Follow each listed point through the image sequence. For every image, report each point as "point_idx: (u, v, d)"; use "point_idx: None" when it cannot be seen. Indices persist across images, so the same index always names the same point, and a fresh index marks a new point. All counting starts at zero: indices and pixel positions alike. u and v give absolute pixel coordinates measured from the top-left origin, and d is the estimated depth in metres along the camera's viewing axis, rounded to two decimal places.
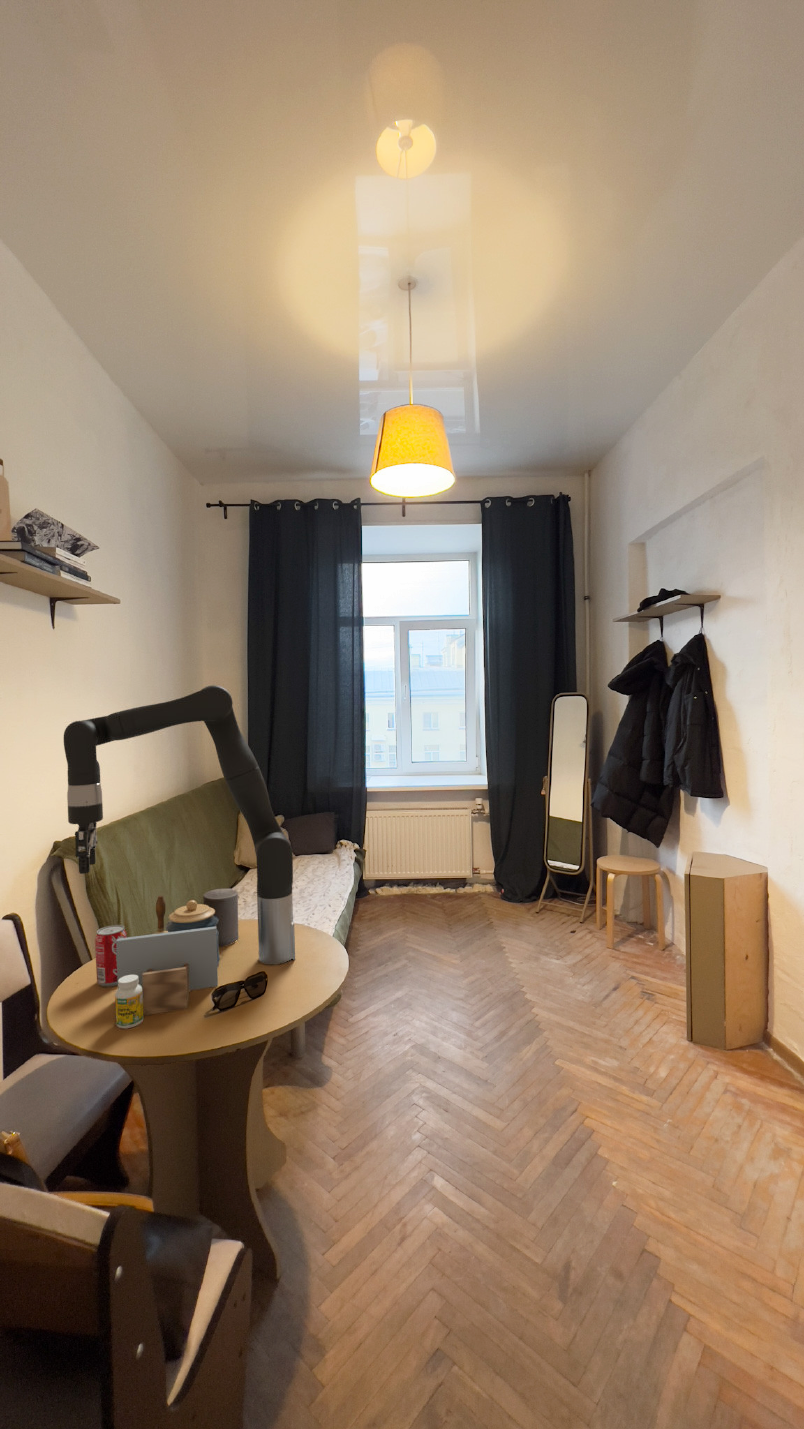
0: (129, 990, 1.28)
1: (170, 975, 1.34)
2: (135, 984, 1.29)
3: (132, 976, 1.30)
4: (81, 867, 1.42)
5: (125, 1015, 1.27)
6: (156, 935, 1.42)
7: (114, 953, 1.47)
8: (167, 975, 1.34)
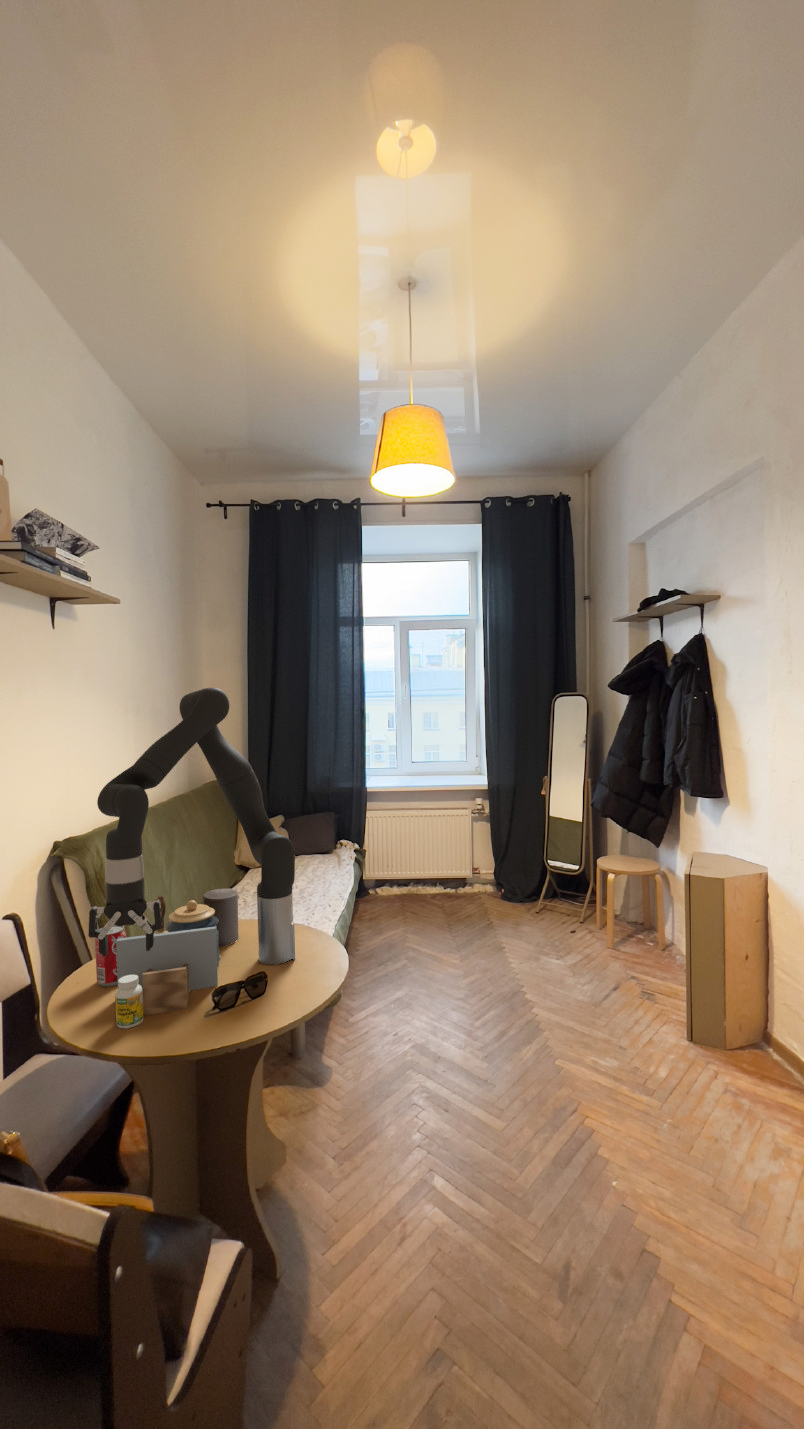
0: (129, 990, 1.28)
1: (170, 975, 1.34)
2: (135, 984, 1.29)
3: (132, 976, 1.30)
4: None
5: (125, 1015, 1.27)
6: (156, 935, 1.42)
7: (114, 953, 1.47)
8: (167, 975, 1.34)
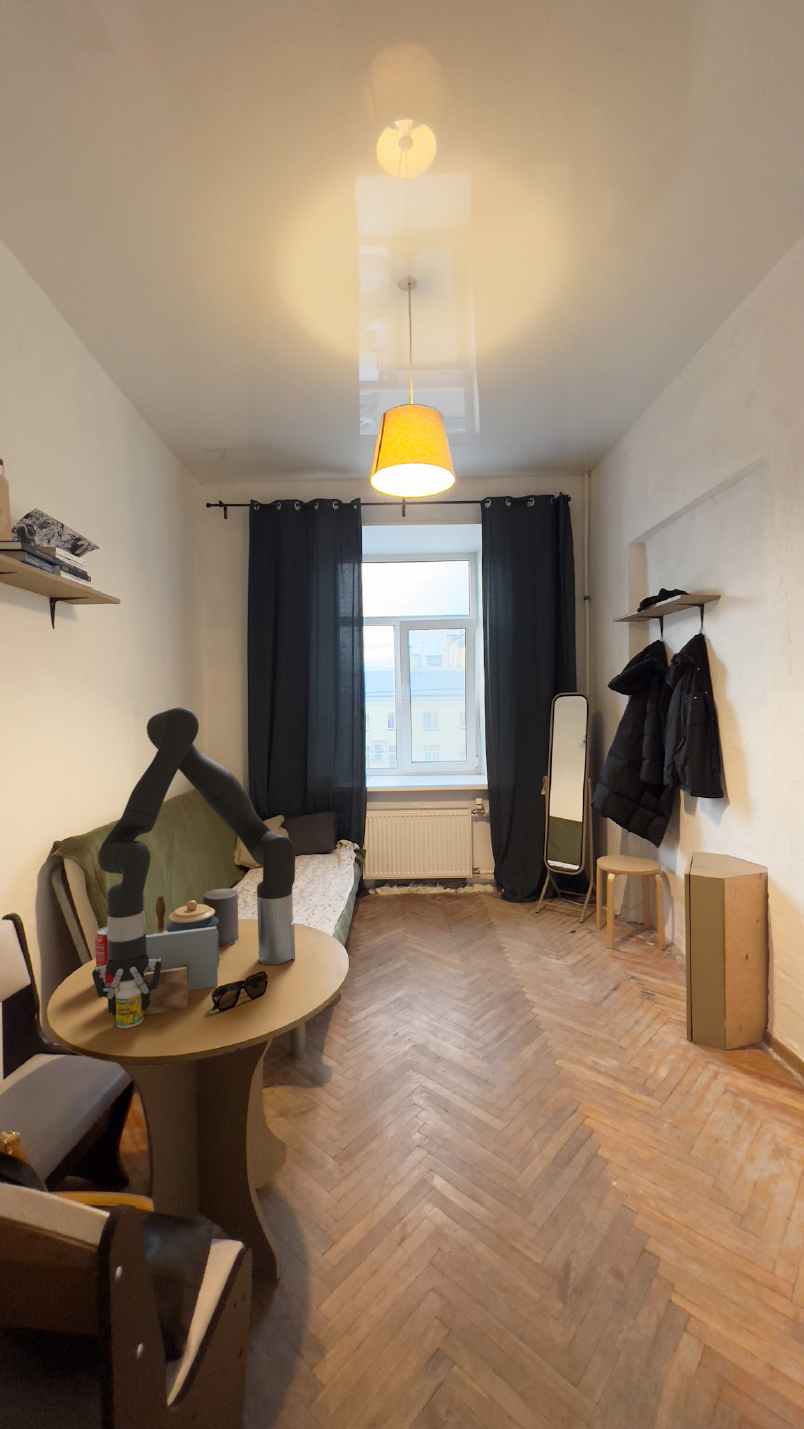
0: (129, 990, 1.28)
1: (170, 975, 1.34)
2: (135, 984, 1.29)
3: None
4: None
5: (125, 1015, 1.27)
6: (156, 935, 1.42)
7: None
8: (167, 975, 1.34)
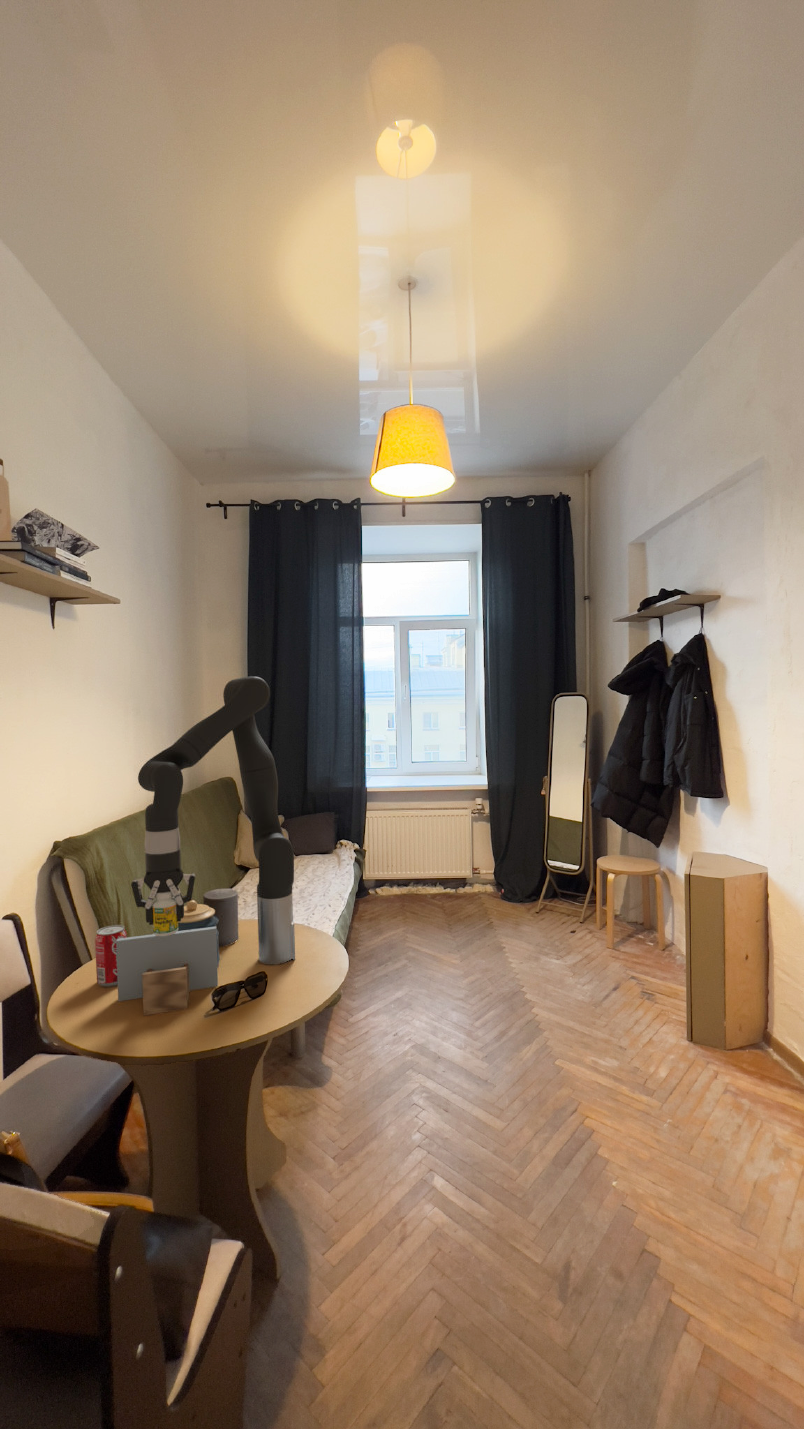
0: (165, 901, 1.37)
1: (170, 975, 1.34)
2: (171, 896, 1.38)
3: None
4: None
5: (162, 924, 1.36)
6: None
7: (114, 953, 1.47)
8: (167, 975, 1.34)
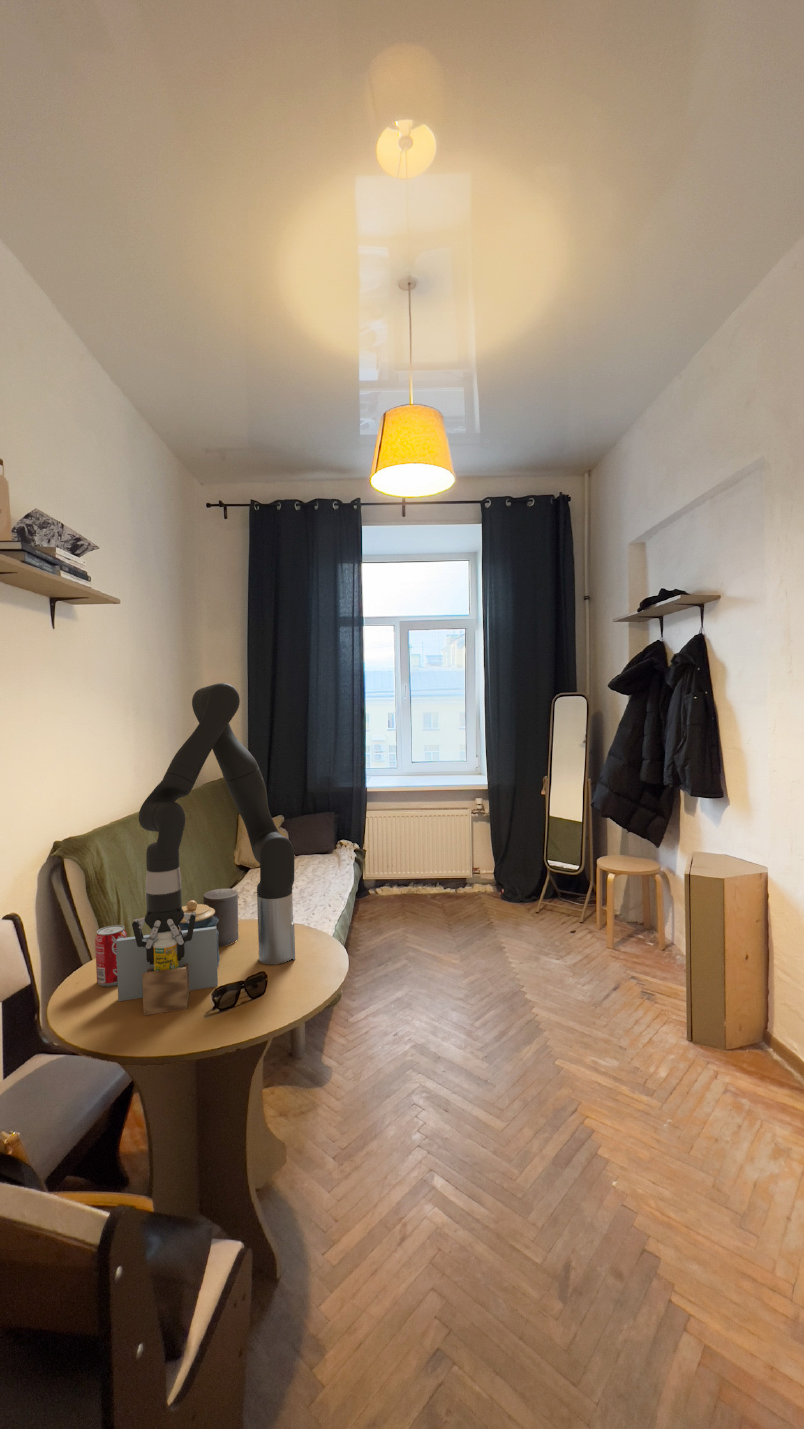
0: (166, 940, 1.37)
1: (170, 975, 1.34)
2: (171, 935, 1.38)
3: None
4: None
5: (163, 964, 1.36)
6: None
7: (114, 953, 1.47)
8: (167, 975, 1.34)
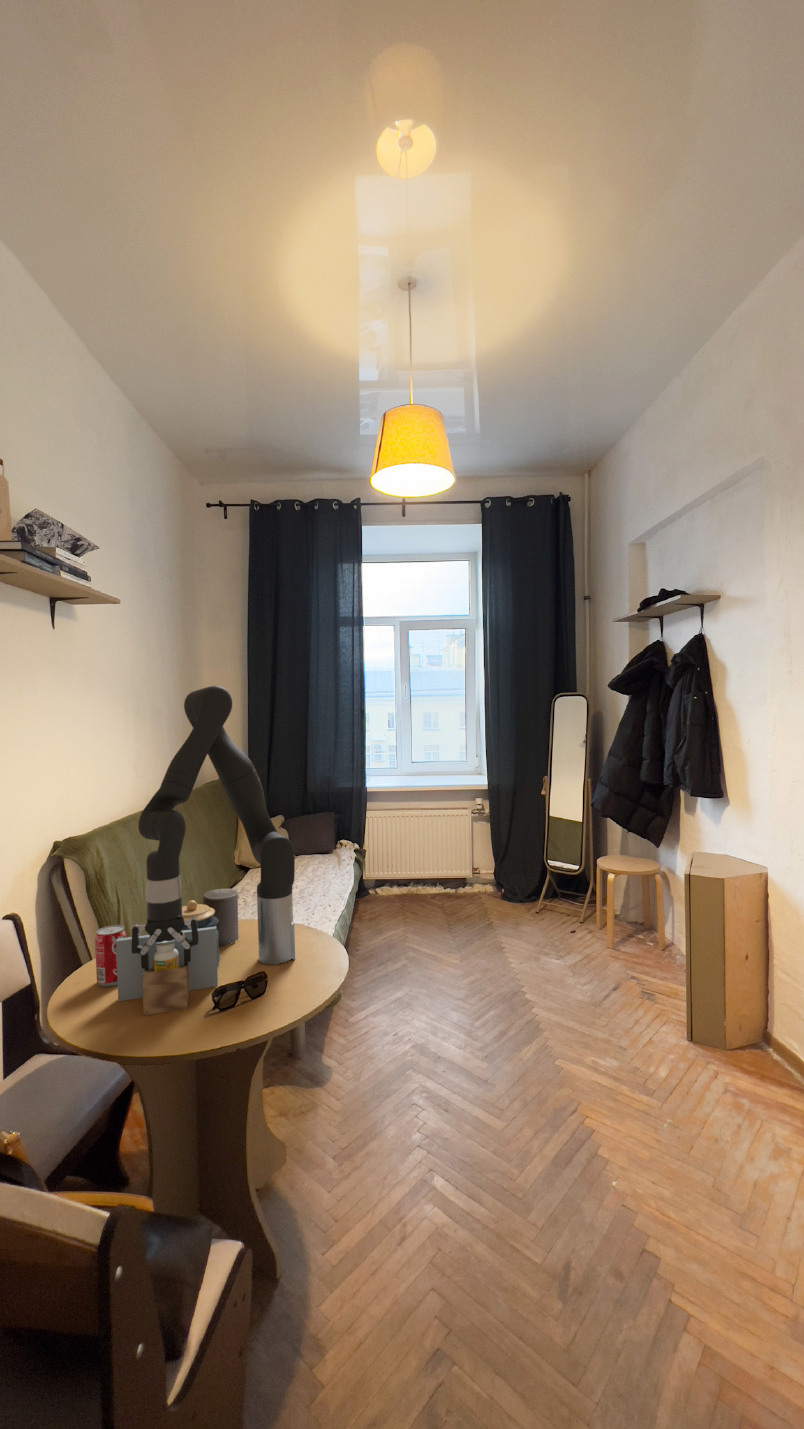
0: (167, 953, 1.37)
1: (170, 975, 1.34)
2: (172, 948, 1.38)
3: None
4: None
5: None
6: None
7: (114, 953, 1.47)
8: (167, 975, 1.34)
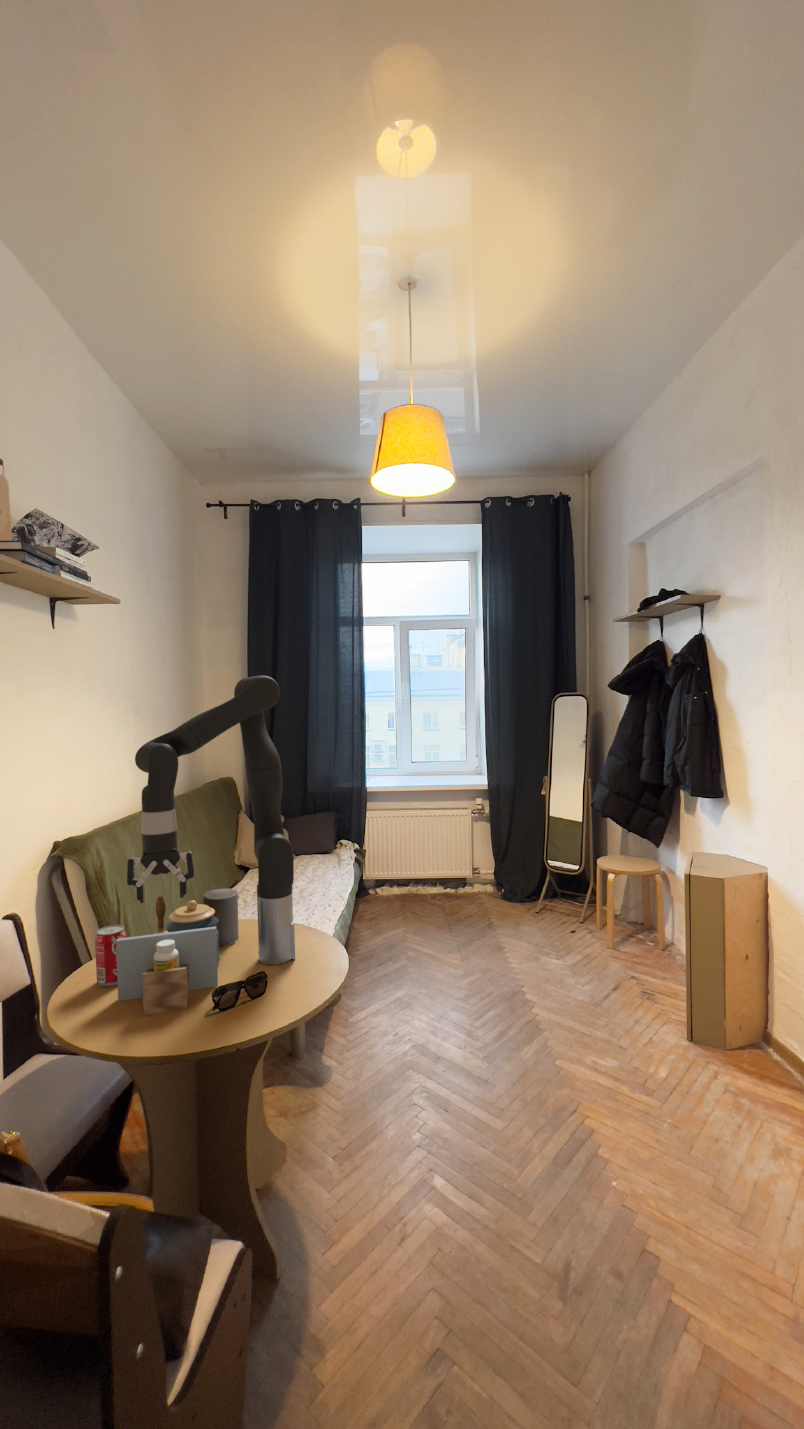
0: (167, 953, 1.37)
1: (170, 975, 1.34)
2: (172, 948, 1.38)
3: (169, 941, 1.39)
4: None
5: None
6: (156, 935, 1.42)
7: (114, 953, 1.47)
8: (167, 975, 1.34)
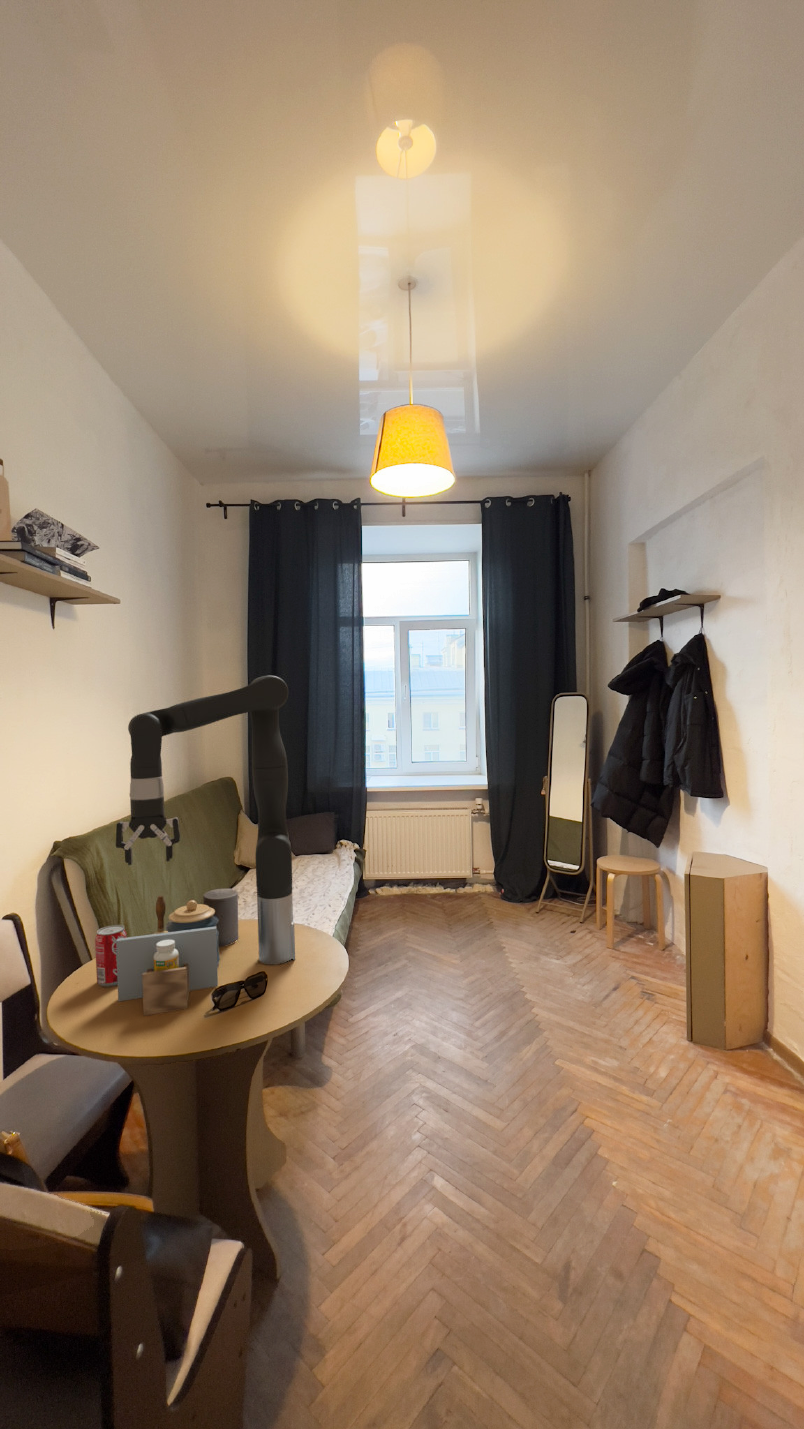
0: (167, 953, 1.37)
1: (170, 975, 1.34)
2: (172, 948, 1.38)
3: (169, 941, 1.39)
4: None
5: None
6: (156, 935, 1.42)
7: (114, 953, 1.47)
8: (167, 975, 1.34)
